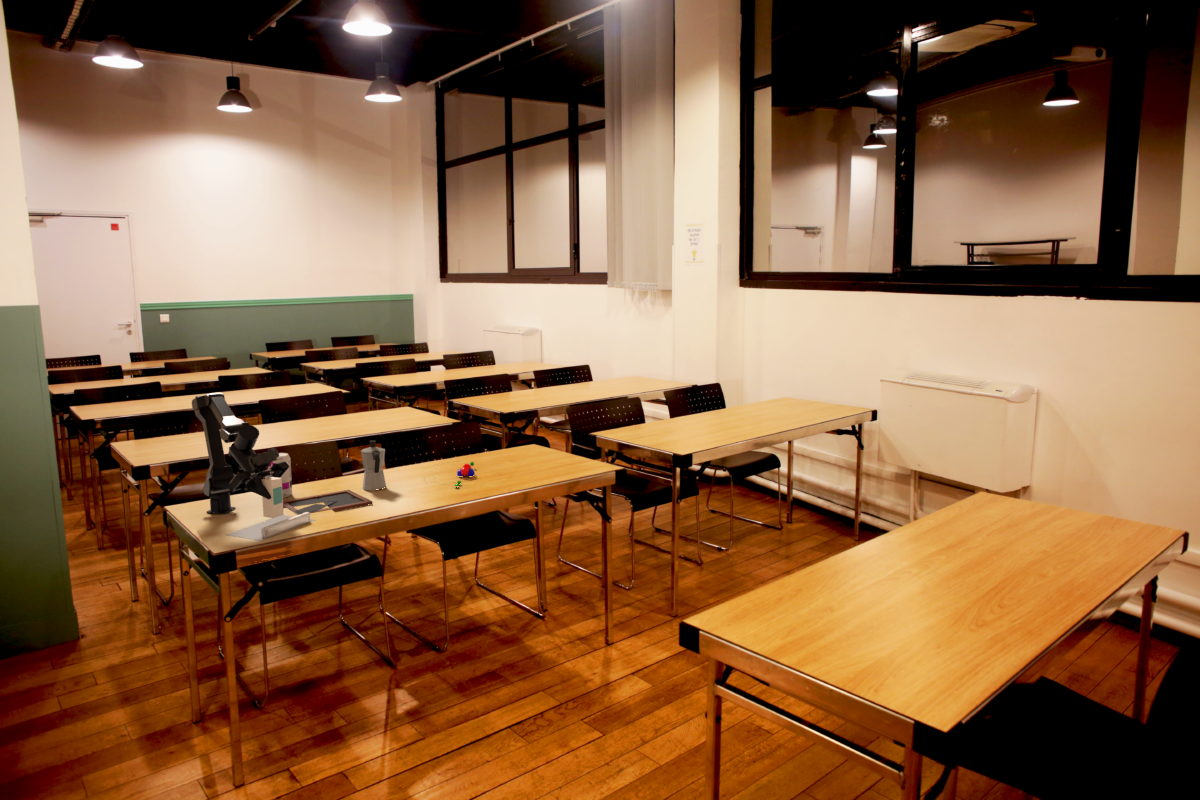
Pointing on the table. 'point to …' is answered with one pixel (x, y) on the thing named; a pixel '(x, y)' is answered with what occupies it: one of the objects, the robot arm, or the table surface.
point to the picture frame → (327, 502)
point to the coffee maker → (373, 467)
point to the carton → (273, 497)
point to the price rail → (285, 525)
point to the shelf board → (255, 530)
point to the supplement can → (286, 476)
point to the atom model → (463, 471)
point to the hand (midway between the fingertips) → (275, 496)
